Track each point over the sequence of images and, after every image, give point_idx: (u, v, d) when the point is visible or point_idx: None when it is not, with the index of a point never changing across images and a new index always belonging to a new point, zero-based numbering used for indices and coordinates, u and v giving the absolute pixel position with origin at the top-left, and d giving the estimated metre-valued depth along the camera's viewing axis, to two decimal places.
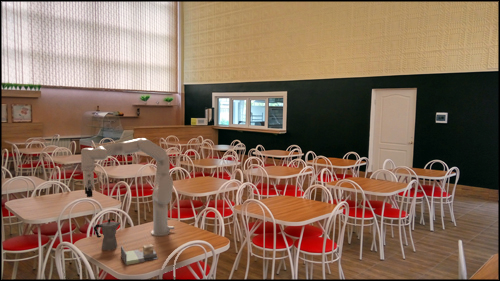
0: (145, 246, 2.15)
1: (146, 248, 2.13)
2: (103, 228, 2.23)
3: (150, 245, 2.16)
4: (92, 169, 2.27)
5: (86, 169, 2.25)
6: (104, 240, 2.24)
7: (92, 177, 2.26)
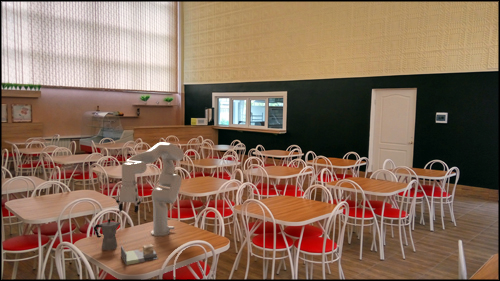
0: (145, 246, 2.15)
1: (146, 248, 2.13)
2: (103, 228, 2.23)
3: (150, 245, 2.16)
4: None
5: (133, 184, 2.20)
6: (104, 240, 2.24)
7: (137, 191, 2.24)
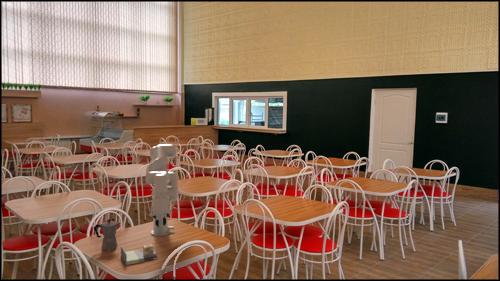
0: (145, 246, 2.15)
1: (146, 248, 2.13)
2: (103, 228, 2.23)
3: (150, 245, 2.16)
4: None
5: (167, 195, 2.17)
6: (104, 240, 2.24)
7: None
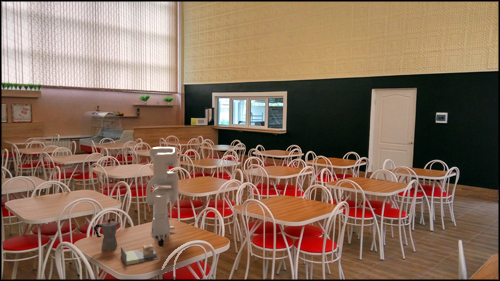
0: (145, 246, 2.15)
1: (146, 248, 2.13)
2: (103, 228, 2.23)
3: (150, 245, 2.16)
4: None
5: (167, 216, 2.18)
6: (104, 240, 2.24)
7: None
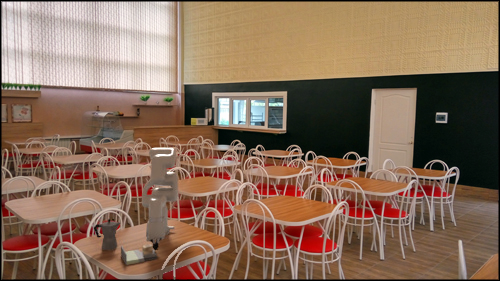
0: (144, 246, 2.15)
1: (145, 248, 2.13)
2: (103, 228, 2.23)
3: (149, 245, 2.16)
4: None
5: (162, 219, 2.17)
6: (104, 240, 2.24)
7: None
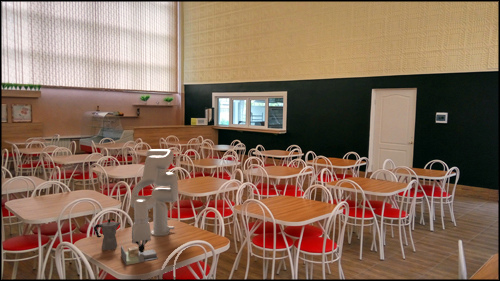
0: (130, 249, 2.10)
1: (131, 251, 2.09)
2: (103, 228, 2.23)
3: (135, 248, 2.12)
4: None
5: None
6: (104, 240, 2.24)
7: None
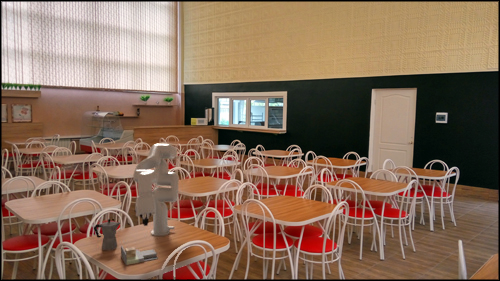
0: (127, 249, 2.10)
1: (128, 251, 2.08)
2: (103, 228, 2.23)
3: (132, 248, 2.11)
4: None
5: (151, 194, 2.13)
6: (104, 240, 2.24)
7: None
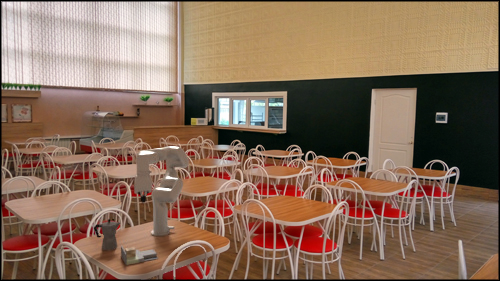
0: (127, 249, 2.10)
1: (128, 251, 2.08)
2: (103, 228, 2.23)
3: (132, 248, 2.11)
4: None
5: (149, 173, 2.31)
6: (104, 240, 2.24)
7: None
